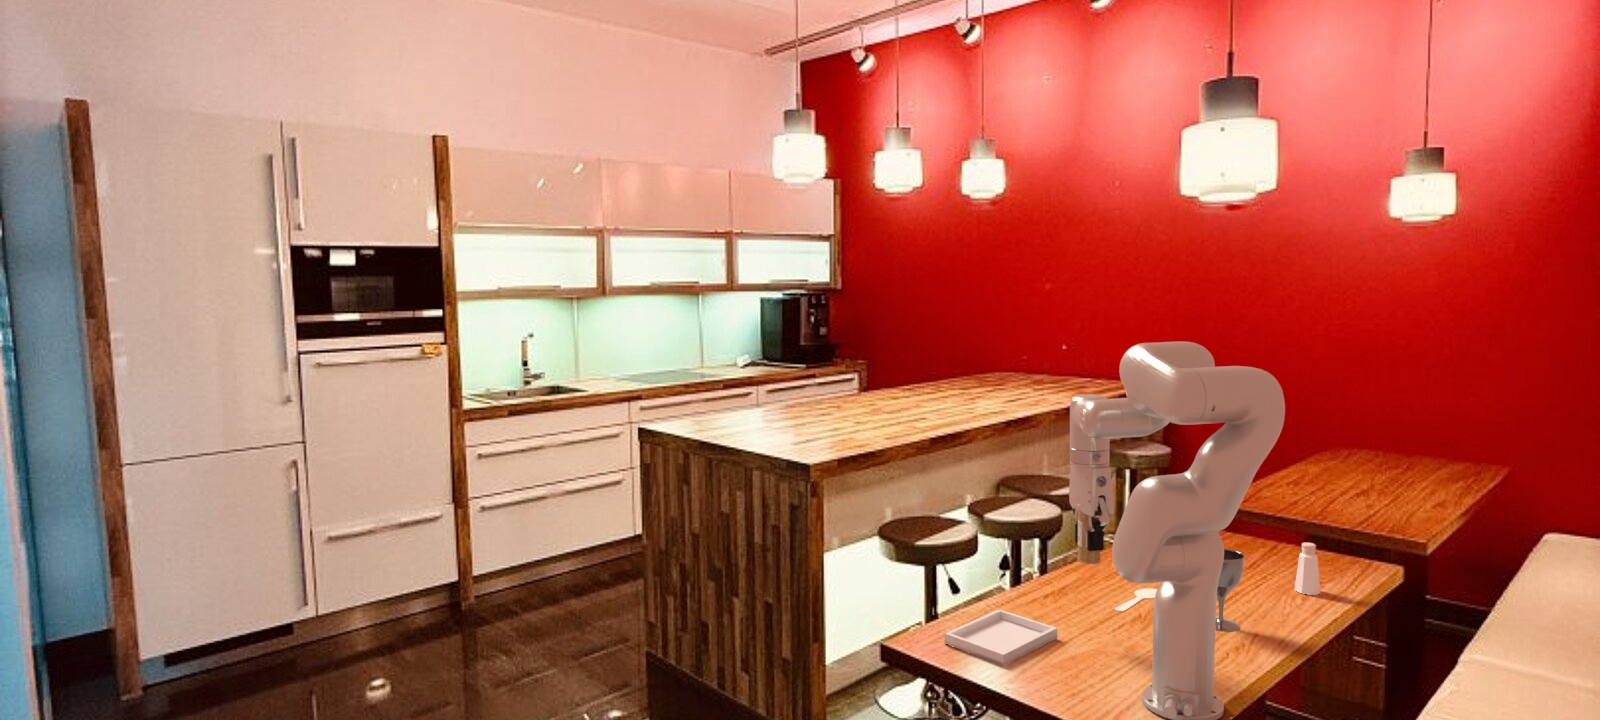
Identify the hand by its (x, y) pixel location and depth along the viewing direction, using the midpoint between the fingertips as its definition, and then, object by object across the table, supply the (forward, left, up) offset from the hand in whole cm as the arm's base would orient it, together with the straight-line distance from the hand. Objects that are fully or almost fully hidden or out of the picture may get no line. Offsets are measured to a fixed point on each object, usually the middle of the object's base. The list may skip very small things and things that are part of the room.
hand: (1089, 545), depth 178 cm
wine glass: (+15, -24, -18) cm, 34 cm away
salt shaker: (+43, -41, -18) cm, 62 cm away
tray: (-11, +15, -18) cm, 26 cm away
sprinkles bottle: (0, 0, -3) cm, 3 cm away
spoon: (+23, -7, -19) cm, 30 cm away
